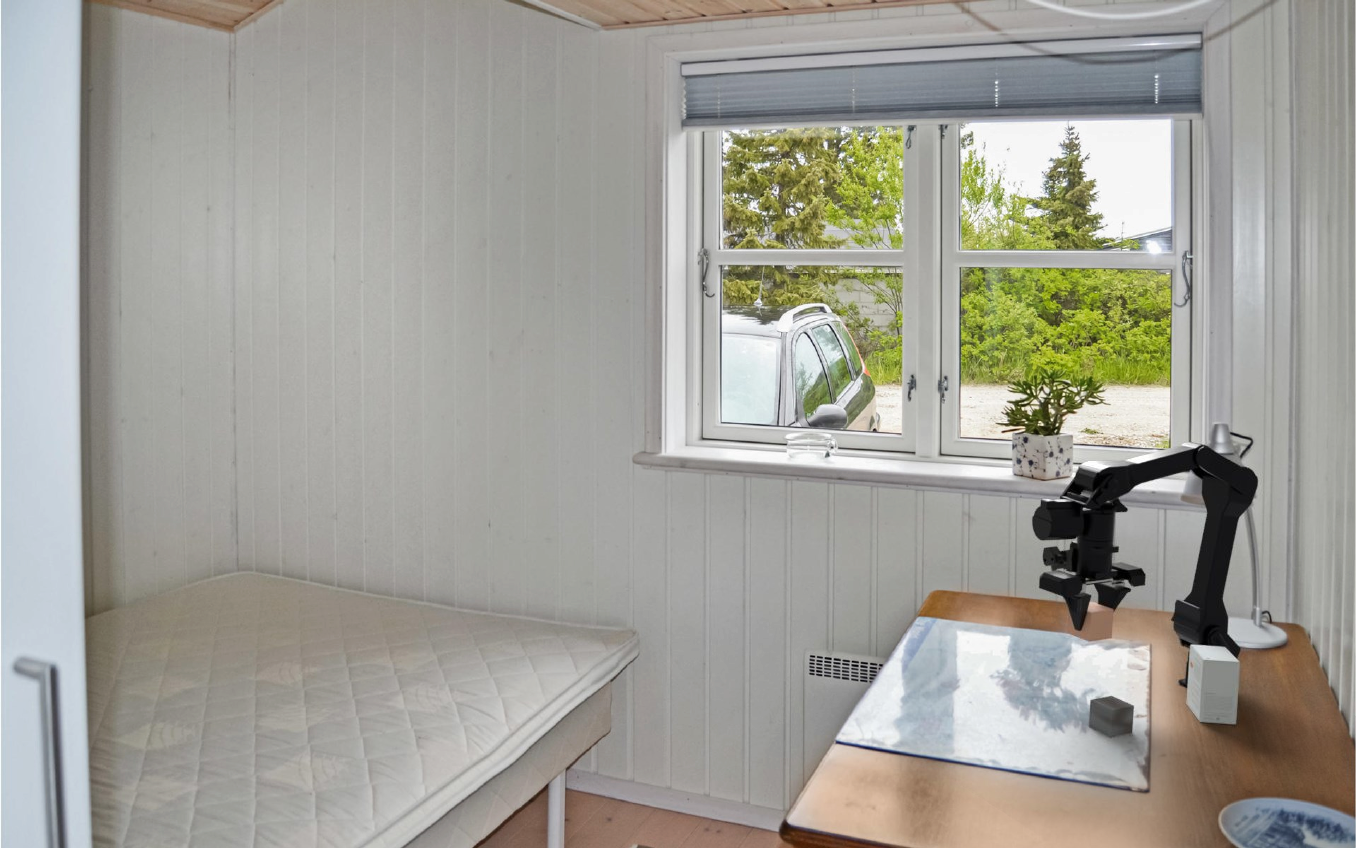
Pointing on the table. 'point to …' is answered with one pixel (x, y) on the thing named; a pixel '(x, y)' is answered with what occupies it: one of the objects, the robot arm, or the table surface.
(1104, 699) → the charcoal block
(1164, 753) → the table surface
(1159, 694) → the table surface
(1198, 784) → the table surface
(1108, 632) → the terracotta block
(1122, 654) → the table surface
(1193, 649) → the small box
